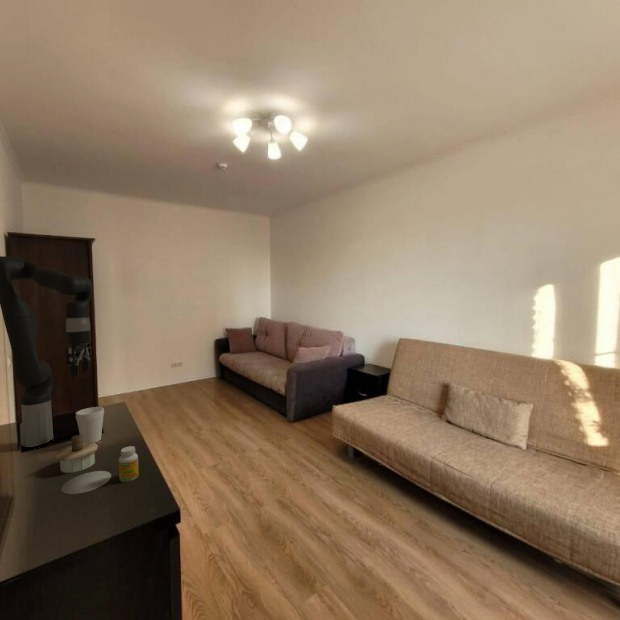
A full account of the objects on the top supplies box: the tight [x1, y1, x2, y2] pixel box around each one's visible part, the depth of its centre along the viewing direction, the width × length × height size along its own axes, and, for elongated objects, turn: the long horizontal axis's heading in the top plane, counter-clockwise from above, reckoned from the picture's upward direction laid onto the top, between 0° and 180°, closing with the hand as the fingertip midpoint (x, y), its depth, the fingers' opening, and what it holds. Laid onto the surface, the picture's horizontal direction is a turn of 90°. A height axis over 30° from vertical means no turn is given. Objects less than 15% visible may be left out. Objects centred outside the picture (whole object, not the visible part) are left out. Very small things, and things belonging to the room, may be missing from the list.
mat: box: [60, 470, 112, 495], centre depth 105 cm, size 13×13×1 cm
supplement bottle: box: [118, 445, 140, 483], centre depth 107 cm, size 5×5×10 cm
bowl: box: [59, 452, 96, 474], centre depth 116 cm, size 10×10×5 cm
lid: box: [56, 434, 99, 461], centre depth 116 cm, size 12×12×6 cm
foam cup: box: [75, 406, 105, 443], centre depth 136 cm, size 10×9×13 cm
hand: (80, 373), depth 126 cm, fingers open, 8 cm apart
